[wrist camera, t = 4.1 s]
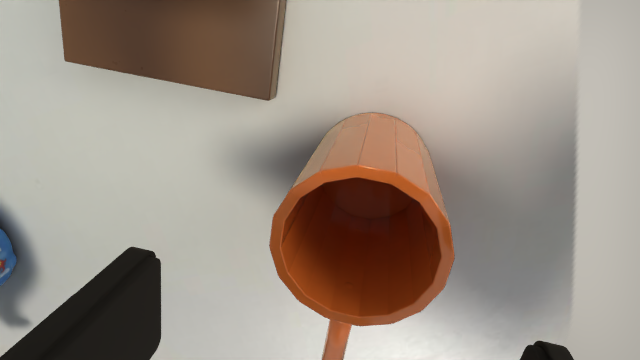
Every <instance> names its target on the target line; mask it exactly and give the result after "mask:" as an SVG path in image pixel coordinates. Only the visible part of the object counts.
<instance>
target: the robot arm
mask: <svg viewBox="0 0 640 360" xmlns="http://www.w3.org/2000/svg"><path fill="white" fill-rule="evenodd" d="M160 339H161V262H160V259H158V258H156V255H155V253H154V252H153V251H149V250H145V249H140V248H136V247H130V248H128V249H127V250H126V251H124V252H123V253H122V254H121V255H120V256H119V257H117V258H116V259H115V260H114V261H113V262H112V263H110V264H109V265H108V266H107V267H106V268H105V269H103V270H102V271H101V272H100V273H99V274H98V275H96V276H95V277H94V278H93V279H92V280H91V281H89V282H88V283H87V284H86V285H85V286H84V287H82V288H81V289H80V290H79V291H78V292H77V293H75V294H74V295H73V296H71V297H70V298H69V299H68V300H67V301H65V302H64V303H63V304H62V305H61V306H60V307H58V308H57V309H56V310H55V311H54V312H53V313H51V314H50V315H49V316H48V317H47V318H46V319H44V320H43V321H42V322H41V323H40V324H39V325H37V326H36V327H35V328H34V329H33V330H32V331H30V332H29V333H28V334H27V335H26V336H25V337H23V338H22V339H21V340H20V341H19V342H18V343H16V344H15V345H14V346H13V347H12V348H10V349H9V350H8V351H7V352H6V353H5V354H3V355H2V356H1V357H0V360H150V358H151V357H152V356H153V354H154V353H155V351H156V350H157V348H158V346H159V343H160ZM520 360H574V359H573V357H572V356H571V354H570V352H569V351H568V350H567V348H566V347H564V346H561V345H556V344H552V343H548V342H543V341H537V342H535V343H534V345H528V346H527V347H526V348H525V350H524V352H523V354H522V356H521V359H520Z"/></svg>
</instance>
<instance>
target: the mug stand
mask: <svg viewBox="0 0 640 360" xmlns="http://www.w3.org/2000/svg"><path fill="white" fill-rule="evenodd" d="M59 6H60V17H61V27H62V38H63V49H64V59H65V61H67V62H72V63H77V64H82V65H87V66H92V67H97V68H102V69H108V70H113V71H118V72H123V73H128V74H133V75H139V76H144V77H149V78H154V79H159V80H164V81H169V82H175V83H180V84H185V85H190V86H195V87H200V88H206V89H211V90H216V91H221V92H226V93H231V94H236V95H242V96H247V97H252V98H257V99H262V100H267V101H269V100H271V99H273V98H275V96H276V87H277V78H278V69H279V60H280V51H281V42H282V33H283V24H284V15H285V6H286V0H59Z"/></svg>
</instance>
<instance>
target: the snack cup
mask: <svg viewBox="0 0 640 360" xmlns="http://www.w3.org/2000/svg"><path fill="white" fill-rule="evenodd" d="M15 265H16V255H15V254H14V253H13V249H12V244H11V242H10V240H9V238H8V237H7V235H6V233H5V232H4V231H3V230H2V229H0V286H1V285H2V284H3V283H4V282H5V281H6V280H7V279H8V278H9V277H10V275H11V274H12V269H13V268H14V266H15Z"/></svg>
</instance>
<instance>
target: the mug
mask: <svg viewBox="0 0 640 360" xmlns="http://www.w3.org/2000/svg"><path fill="white" fill-rule="evenodd" d="M269 246H270V251H271V254H272V257H273V260H274V264H275V267H276V270H277V273H278V276H279V278H280V279H281V280H282V281H283V282H284V284H285V285H286V286H287V287H288V289H289V290H290V291H291V292H292V294H293V295H294V296H295V297H296V299H297V300H299V302H301V303H303V304H304V305H306V306H307V307H309V308H311V309H312V310H314V311H315V312H317V313H319V314H320V315H322V316H323V317H325V318H326V317H327V318H328V319H330V321H329V326H328V330H327V335H326V340H325V345H324V349H323V354H322V360H343V359H344V355H345V351H346V346H347V342H348V338H349V334H350V330H351V326H352V325H356V326H358V325H359V326H369V325H384V324H391V323H395V322H397V321H400V320H402V319H404V318H407V317H409V316H411V315H414V314H416V313H418V312H421V310H423V309H424V308H425V307H426V306H427V305H428V304H429V303H430V302H431V301H432V300H433V299H434V298H435V297H436V296H437V295H438V294H439V293H440V292H441V291H442V290H443V289H444V287H445V285H446V282H447V279H448V276H449V273H450V270H451V267H452V264H453V261H454V256H455V255H454V248H453V240H452V233H451V226H450V222H449V219H448V216H447V212H446V209H445V206H444V202H443V199H442V195H441V192H440V189H439V185H438V182H437V178H436V175H435V172H434V168H433V165H432V161H431V158H430V155H429V152H428V150H427V148H426V146H425V144H424V143H423V141H422V139H421V138H420V136H419V135H418V134H417V133H416V132H415V131H414V130H413V129H412V128H411V127H410V126H409V125H407V124H406V123H405V122H403V121H401V120H399V119H397V118H395V117H392V116H389V115H385V114H379V113H364V114H358V115H355V116H351V117H349V118H347V119H344V120H343V121H341V122H339V123H338V124H336V125H335V126H334V127H333V128H332V129H331V130H329V131H328V132H327V133H326V135H325V136H324V138H323V139H322V141H321V143H320V144H319V146H318V147H317V149H316V150H315V152H314V153H313V155H312V156H311V158H310V160H309V161H308V163H307V164H306V166H305V167H304V169H303V170H302V172H301V174H300V175H299V177H298V178H297V180H296V181H295V183H294V184H293V186H292V188H291V189H290V191H289V192H288V194H287V195H286V197H285V198H284V200H283V202H282V203H281V205H280V206H279V208H278V209H277V211H276V212H275V214H274V217H273V221H272V229H271V237H270V245H269Z"/></svg>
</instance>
